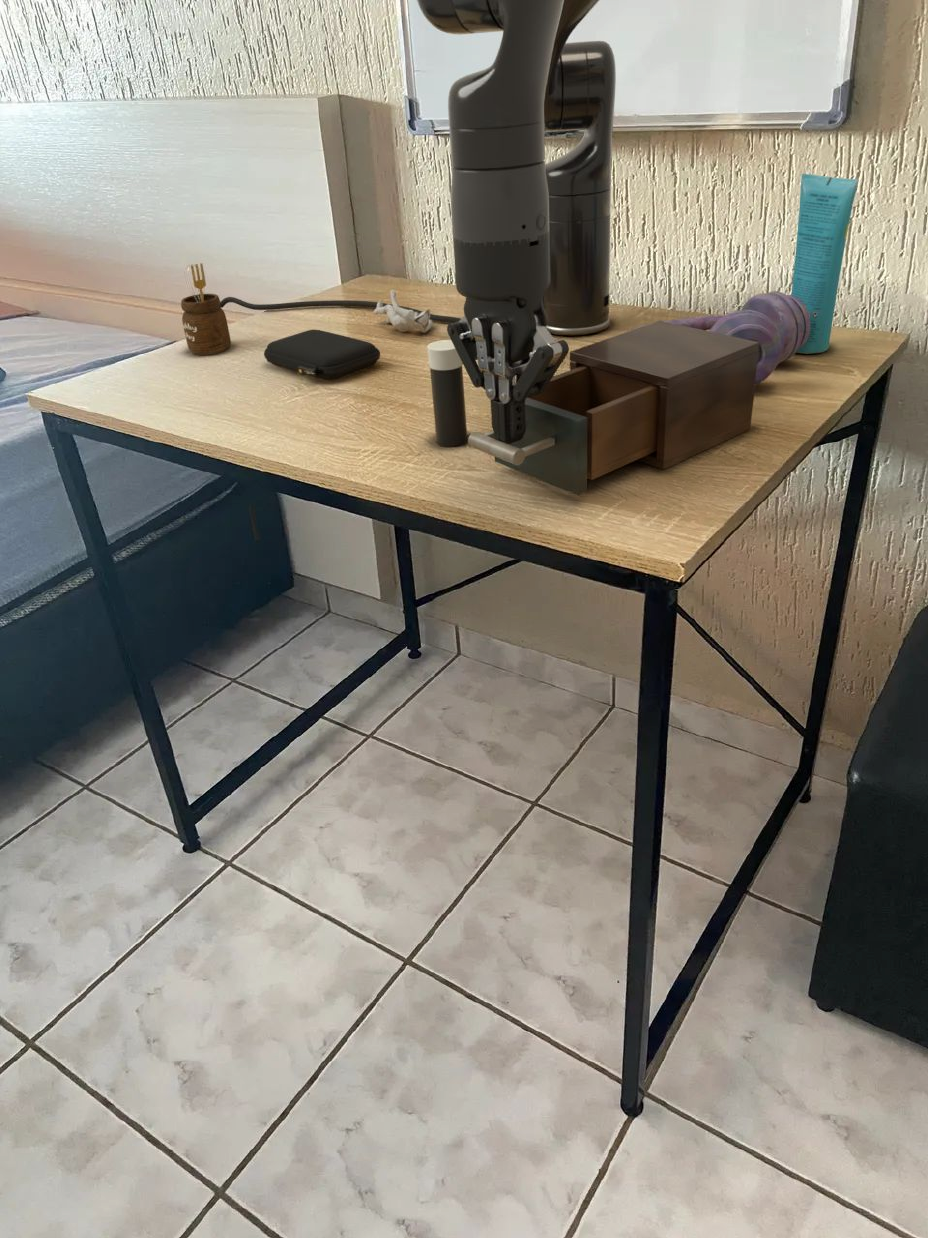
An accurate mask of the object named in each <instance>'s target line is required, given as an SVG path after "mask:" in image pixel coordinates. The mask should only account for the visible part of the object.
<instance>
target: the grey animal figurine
mask: <svg viewBox="0 0 928 1238" xmlns="http://www.w3.org/2000/svg"><path fill="white" fill-rule="evenodd" d="M389 293H390V302H391V304H392V305H393V306H392V305H389V304H390V303H387V304H388V305H386V306H384V307H382V305H383V303H384V302H383V301H382V300H379V301H377V302H378V303H377V308H375V309H374V310H373V314H374V315H378V314H387V315H386V316H387V318H386V319H385V323H386V324H390V323H391V325H392V326H393V327H394V328H396V329H397V331H399V332H400V333H406V332H409V331H411V330H417V331H419V332H421V333H422V334H425V333H427V332H428V331H429V330H431V328H432V326H433V324H434V322H433V320H430V319H429V318H430V314H431V309H430V308H428V309H426V310H423V311H422V313H420V314H418V313H417V312H414V311H413V310H407V309H403V308H400V307H399V306H400V305H399V303H398V301H397V298H396V296H397V293H396V289H391V290H389Z"/></svg>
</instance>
